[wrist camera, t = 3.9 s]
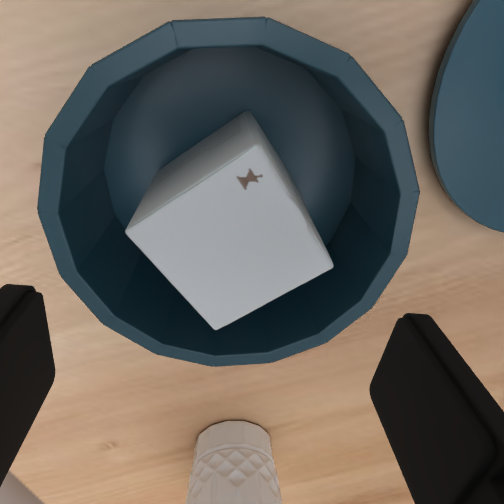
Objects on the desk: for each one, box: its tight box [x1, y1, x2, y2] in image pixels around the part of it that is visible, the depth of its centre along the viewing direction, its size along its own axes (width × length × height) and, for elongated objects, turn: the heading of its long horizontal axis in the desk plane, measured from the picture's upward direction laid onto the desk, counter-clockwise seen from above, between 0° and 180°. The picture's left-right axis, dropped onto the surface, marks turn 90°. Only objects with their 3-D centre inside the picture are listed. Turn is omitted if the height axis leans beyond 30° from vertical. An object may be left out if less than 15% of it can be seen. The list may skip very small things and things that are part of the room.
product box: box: [125, 110, 333, 330], centre depth 17 cm, size 6×6×7 cm
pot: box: [37, 17, 420, 367], centre depth 18 cm, size 15×15×6 cm
